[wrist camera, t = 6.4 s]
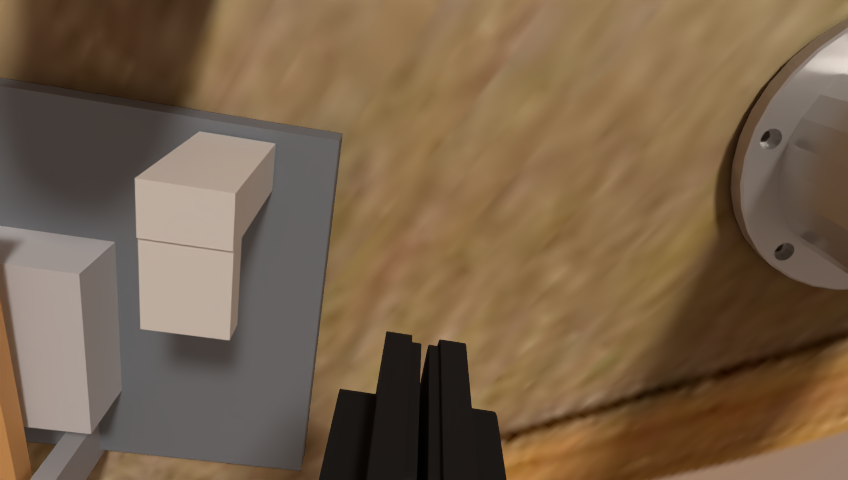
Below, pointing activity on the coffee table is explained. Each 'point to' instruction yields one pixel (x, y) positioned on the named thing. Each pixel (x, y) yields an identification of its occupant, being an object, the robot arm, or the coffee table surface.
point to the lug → (198, 231)
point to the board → (119, 288)
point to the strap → (11, 419)
